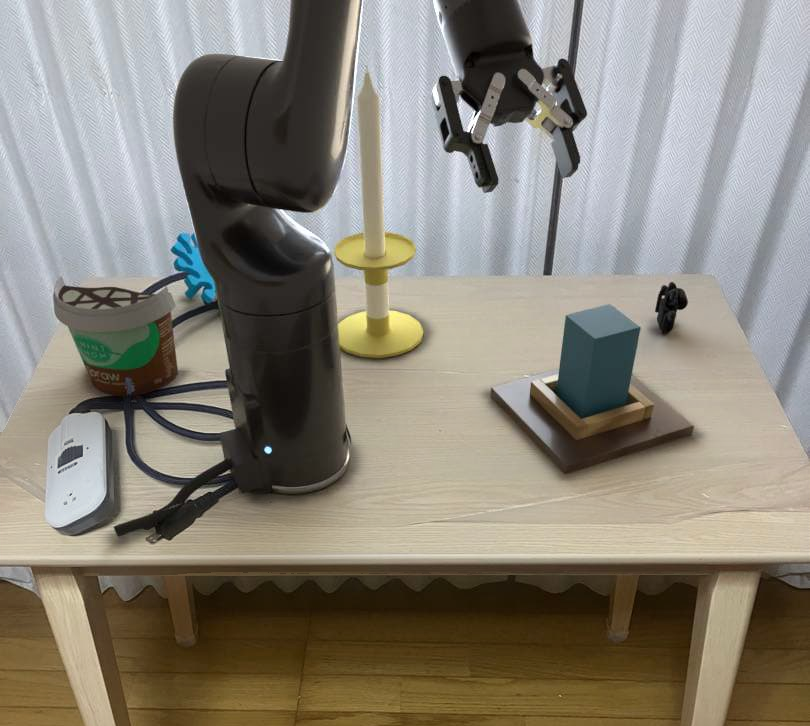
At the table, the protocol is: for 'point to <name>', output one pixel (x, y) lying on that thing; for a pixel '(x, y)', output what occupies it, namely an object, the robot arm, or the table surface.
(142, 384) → the food container
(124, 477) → the table surface
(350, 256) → the candle
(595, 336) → the post block
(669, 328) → the wireless earbuds
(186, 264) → the blue branched piece
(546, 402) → the square wooden socket base
